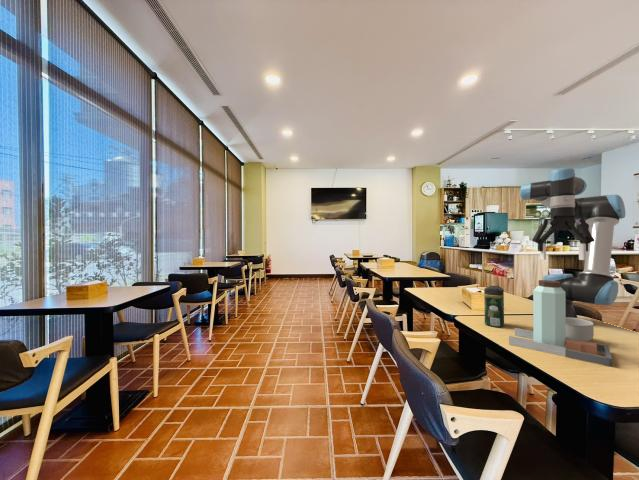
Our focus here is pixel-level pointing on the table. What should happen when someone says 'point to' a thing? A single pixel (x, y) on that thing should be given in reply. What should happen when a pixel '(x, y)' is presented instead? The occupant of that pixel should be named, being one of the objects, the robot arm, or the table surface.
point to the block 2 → (588, 347)
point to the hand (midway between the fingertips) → (562, 259)
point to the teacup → (579, 329)
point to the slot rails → (534, 343)
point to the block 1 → (573, 345)
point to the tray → (592, 355)
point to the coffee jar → (494, 306)
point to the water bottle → (549, 313)
